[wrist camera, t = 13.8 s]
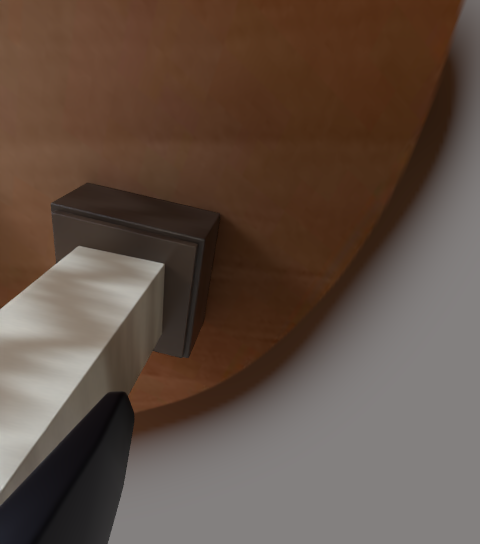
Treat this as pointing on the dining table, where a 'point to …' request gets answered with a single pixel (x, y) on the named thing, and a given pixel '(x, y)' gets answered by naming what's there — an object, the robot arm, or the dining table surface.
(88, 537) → the robot arm
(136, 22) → the dining table surface
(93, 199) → the stand
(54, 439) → the block
